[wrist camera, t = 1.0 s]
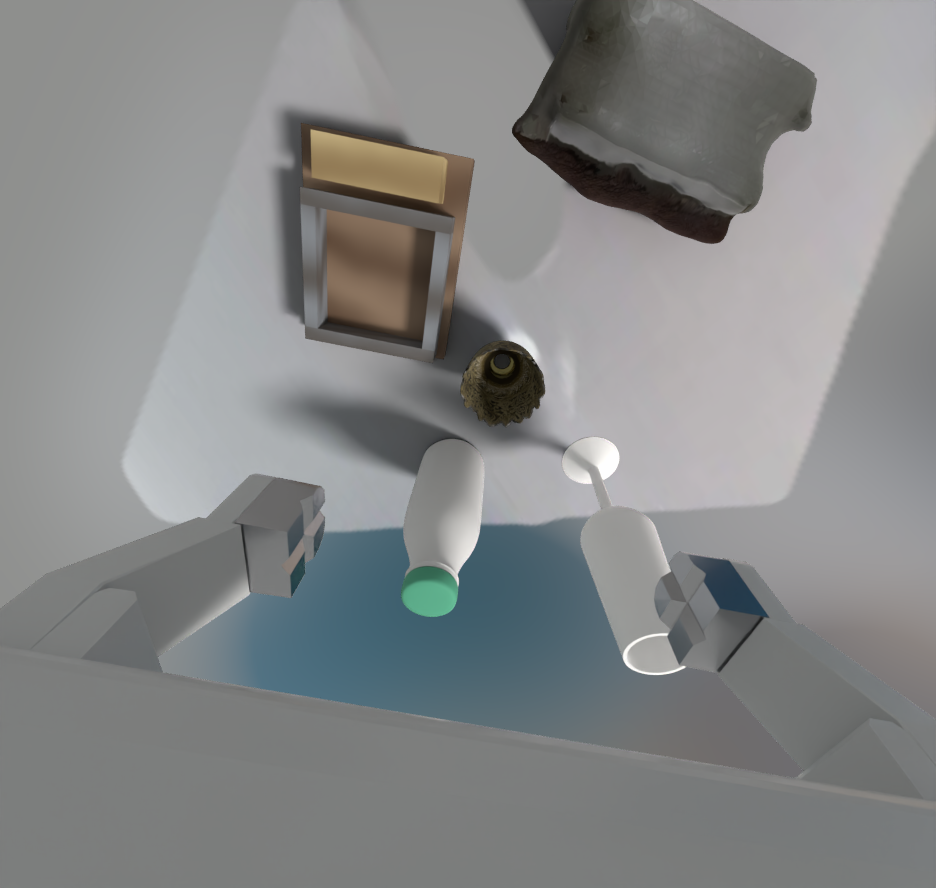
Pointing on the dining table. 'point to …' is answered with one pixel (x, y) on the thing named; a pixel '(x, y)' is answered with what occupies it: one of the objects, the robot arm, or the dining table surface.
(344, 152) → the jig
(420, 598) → the milk bottle
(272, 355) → the dining table surface
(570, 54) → the rock
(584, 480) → the champagne flute
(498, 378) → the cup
